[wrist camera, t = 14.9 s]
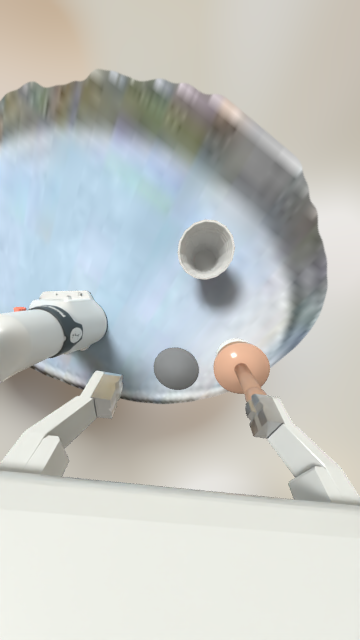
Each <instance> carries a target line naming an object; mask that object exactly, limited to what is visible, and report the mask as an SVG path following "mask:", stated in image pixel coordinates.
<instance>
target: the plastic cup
mask: <svg viewBox="0 0 360 640" xmlns="http://www.w3.org/2000/svg"><path fill="white" fill-rule="evenodd" d="M234 250H235V246H234V240H233V236H232V234H231V233H230V231H229V230H228V228H227V227H226V226H225V225H223V224H221V223H220V222H218V221H216V220H202V221H199V222H196V223H194V224H192V225H191V226H190V227H189V228H188V229H187V230H186V231H185V232H184V234H183V235H182V237H181V239H180V241H179V247H178V257H179V261H180V264H181V266H182V267H183V269H184V270H185V272H186V273H188V274H189V275H191V276H192V277H194V278H198V279H205V280H206V279H210V278H214V277H217V276H218V275H220V274H221V273H222V272H224V271H225V270H226V269H227V267H228V266H229V264H230V263H231V261H232V259H233V254H234Z"/></svg>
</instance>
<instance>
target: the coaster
mask: <svg viewBox="0 0 360 640" xmlns="http://www.w3.org/2000/svg"><path fill="white" fill-rule="evenodd" d="M154 373H155V375H156V378H157V379H158V380H159V382H160V383H161V384H163V385H164V386H166V387H168V388H170V389H175V390H181V389H185V388H187V387H189V386H191V385H192V384H193V383H194V382H195V380H196V378H197V376H198V364H197V361H196V359H195V358H194V357H193V355H192V354H191V353H189V352H188V351H186V350H184V349H181V348H168V349H166V350H164V351H162V352H161V353H160V354H159V355H158V356H157V358H156V359H155V362H154Z"/></svg>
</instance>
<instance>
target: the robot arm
mask: <svg viewBox="0 0 360 640" xmlns="http://www.w3.org/2000/svg"><path fill="white" fill-rule="evenodd" d="M82 294H83V296H82ZM106 329H107V320H106V316H105V313H104V311H103V310H102V308H101V307H100V306H99V305H98V304H97V303H96V302H95V301H94V299H93V297H92V295H91V294H90V292H89V291H86V290H83V291H46V292H43V293H42V294H41V296H40V298H39V299H38V300H33V301H32V303H31V304H30V307H29V310H26V308H24V307H15V308H14V312H9V313H1V314H0V383H2V382H3V381H5V380H6V379H8V378H9V377H11V376H13V375H15V374H16V373H18V372H19V371H22V370H24V369H26V368H28V367H30V366H32V365H34V364H37V363H39V362H41V361H43V360H45V359H47V358H53V357H56V356H59V355H62V354H69V353H72V352H74V351H77V350H81V351H84V350H86V349H88V348H89V346H90V345H91V344H93V343H96V342H98V341H99V340H100V339H101V338H102V337H103V336H104V334H105V332H106ZM122 379H123V375H121V374H115V373H109V372H103V371H97V370H96V371H95V372H94V374H93V375H92V377H91V379H90V380H89V382H88V384H87V385H86V387H85V388H84V390H83V392H82V393H81V395H80V396H76V397H75V398H74V399H72V400H70V401H69V402H68V403H66V404H65V405H63V406H61V407H60V408H58V409H57V410H55V411H54V412H53V413H51V414H50V415H48V416H47V417H45V418H44V419H42V420H41V421H39V422H38V423H36V424H35V425H33V426H32V427H30V428H29V429H27V430H26V431H25V432H24V433H23V434H22V436H21V437H20V438H19V439H18V441H17V442H16V443H15V445H14V446H13V447H12V448H11V450H10V451H9V452H8V454H7V455H6V456H5V457H4V459H3V460H2V461H1V463H0V640H360V497H359V495H358V493H357V492H356V490H355V489H354V487H353V486H352V484H351V482H350V481H349V479H348V478H347V476H346V474H345V473H344V471H343V470H342V468H341V467H340V466H339V465H338V464H337V463H335V462H334V461H333V460H332V459H331V458H330V457H329V456H328V455H327V454H326V453H325V452H324V451H323V450H322V449H321V448H320V447H319V446H317V445H316V444H315V443H314V442H313V441H312V440H311V439H310V438H309V437H308V436H307V435H306V434H305V433H304V432H303V431H302V430H301V429H299V427H297V426H296V425H294V424H293V422H292V421H291V419H290V417H289V415H288V413H287V411H286V409H285V407H284V405H283V404H282V402H281V400H280V399H279V398H278V397H274V396H268V395H261V394H253V395H252V396H251V400H249V401H248V402H247V403H246V414H247V417H248V418H249V419H250V420H251V422H250V427H251V430H252V433H253V436H254V437H260V438H266V439H267V440H268V441H269V443H270V444H271V445H272V447H273V448H274V450H275V451H276V452H277V454H278V455H279V456H280V458H281V459H282V460H283V462H284V463H285V464H286V466H287V467H288V468H289V470H290V471H291V473H292V474H293V475H294V477H295V478H294V479H292V480H291V481H289V483H288V485H289V487H290V490H291V493H292V495H293V498H294V499H284V498H274V497H264V496H254V495H253V496H252V495H244V494H233V493H223V492H213V491H203V490H192V489H182V488H172V487H162V486H152V485H142V484H131V483H121V482H111V481H100V480H90V479H80V478H70V477H62V476H63V473H64V471H65V469H66V467H67V465H68V463H69V459H68V456H67V454H66V452H65V450H64V449H65V448H66V447H67V446H68V445H69V444H70V443H71V442H72V441H73V440H74V439H75V438H76V437H77V436H78V435H79V434H81V432H83V431H84V430H85V428H87V427H88V426H89V425H90V424H91V423H92V422H93V421H94V420H95V419H96V417H100V418H110V419H111V418H113V415H114V412H115V410H116V407H117V405H116V402H117V401H118V400H119V399H120V396H121V393H122V388H123V383H122Z"/></svg>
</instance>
